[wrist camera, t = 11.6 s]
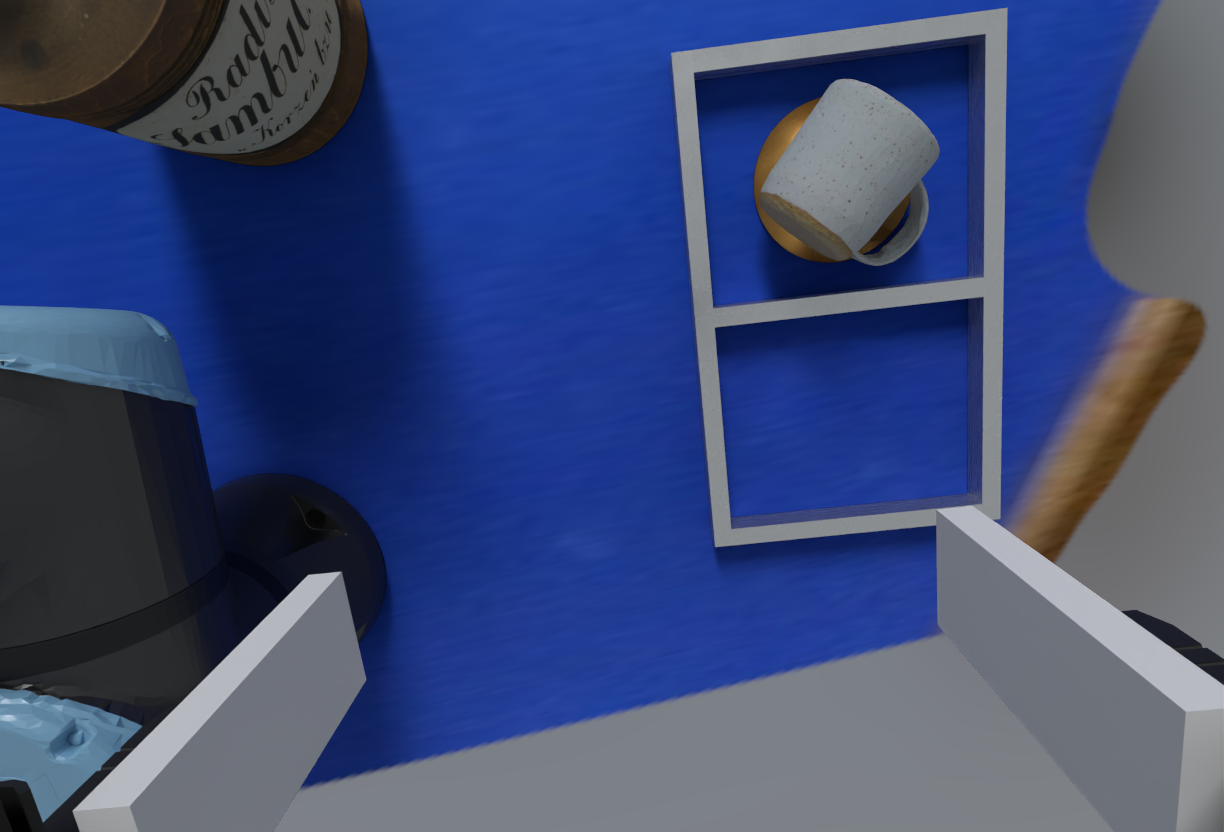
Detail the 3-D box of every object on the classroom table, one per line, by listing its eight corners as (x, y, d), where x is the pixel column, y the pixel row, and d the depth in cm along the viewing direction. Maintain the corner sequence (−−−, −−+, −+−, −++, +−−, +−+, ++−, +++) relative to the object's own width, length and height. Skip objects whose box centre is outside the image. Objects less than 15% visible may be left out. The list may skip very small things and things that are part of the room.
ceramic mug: (740, 204, 43) (765, 195, 36) (816, 92, 41) (858, 59, 34) (866, 294, 44) (914, 303, 37) (944, 189, 43) (1011, 177, 35)
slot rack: (711, 535, 48) (715, 547, 46) (669, 62, 41) (671, 53, 39) (984, 508, 47) (1000, 519, 45) (989, 19, 40) (1007, 7, 38)
